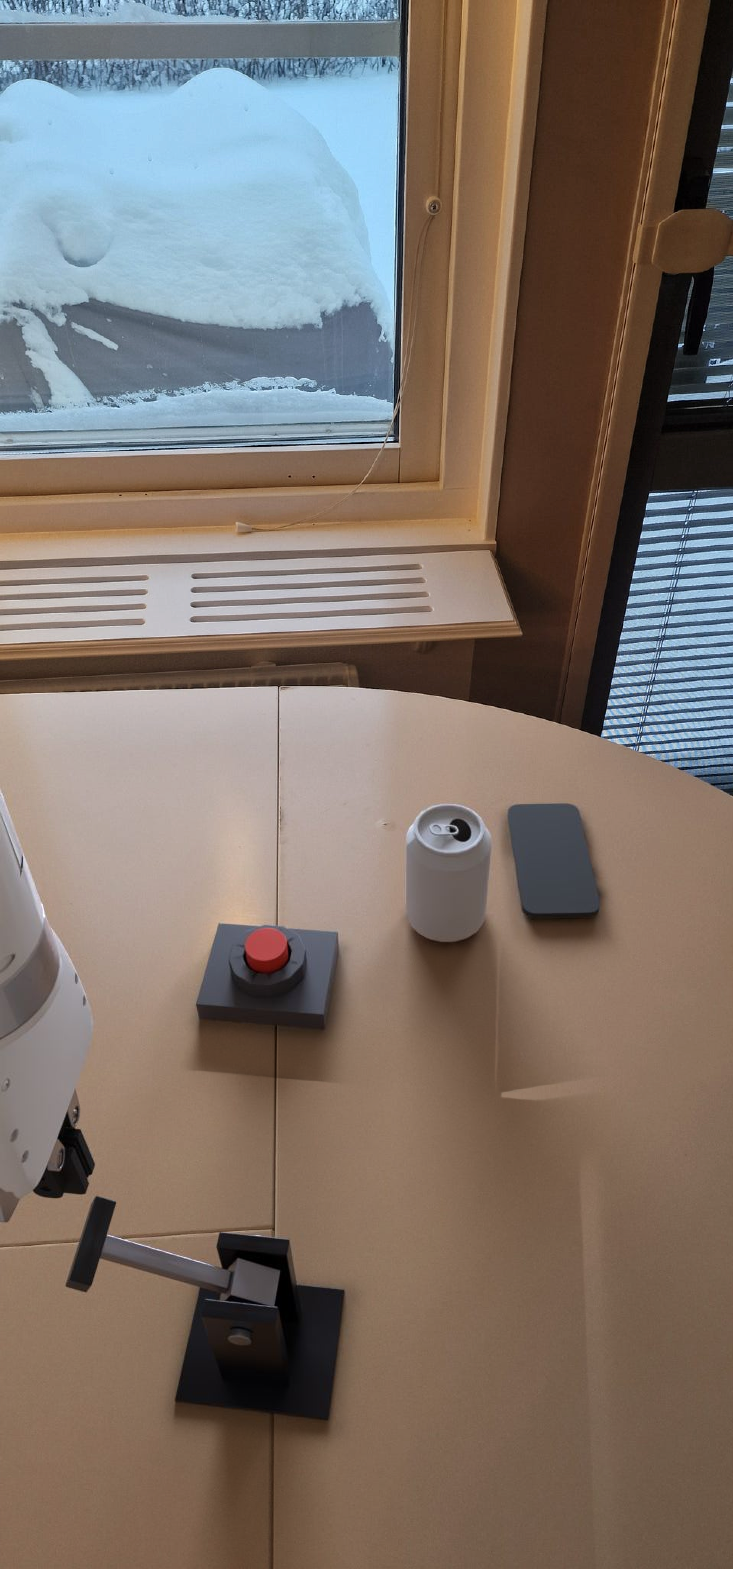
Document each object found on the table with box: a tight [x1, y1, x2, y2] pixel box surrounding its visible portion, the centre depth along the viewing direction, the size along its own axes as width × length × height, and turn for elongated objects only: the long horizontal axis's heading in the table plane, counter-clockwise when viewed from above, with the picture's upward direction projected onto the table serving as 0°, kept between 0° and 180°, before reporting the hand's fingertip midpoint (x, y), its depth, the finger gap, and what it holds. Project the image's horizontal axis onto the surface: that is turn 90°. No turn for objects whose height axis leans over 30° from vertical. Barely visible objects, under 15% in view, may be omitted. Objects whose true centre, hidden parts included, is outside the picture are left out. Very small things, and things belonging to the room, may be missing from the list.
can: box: [405, 803, 493, 943], centre depth 93 cm, size 8×8×12 cm
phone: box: [507, 802, 601, 919], centre depth 102 cm, size 7×1×15 cm
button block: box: [195, 922, 340, 1030], centre depth 91 cm, size 11×9×4 cm
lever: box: [64, 1195, 280, 1307], centre depth 62 cm, size 12×5×2 cm, turn 84°
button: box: [245, 928, 288, 973], centre depth 89 cm, size 4×4×2 cm
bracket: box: [174, 1231, 346, 1421], centre depth 66 cm, size 10×8×12 cm
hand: (63, 1177), depth 55 cm, fingers closed
